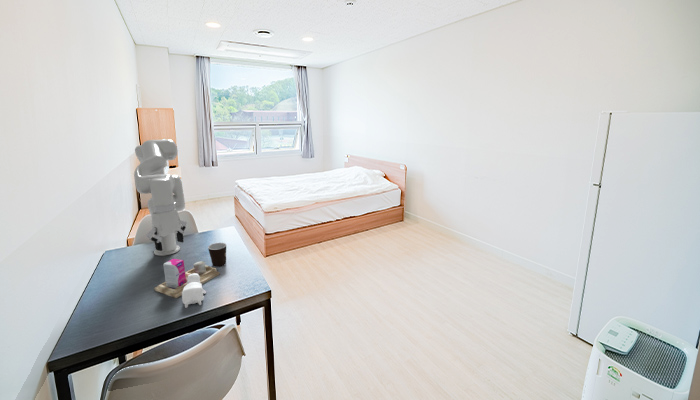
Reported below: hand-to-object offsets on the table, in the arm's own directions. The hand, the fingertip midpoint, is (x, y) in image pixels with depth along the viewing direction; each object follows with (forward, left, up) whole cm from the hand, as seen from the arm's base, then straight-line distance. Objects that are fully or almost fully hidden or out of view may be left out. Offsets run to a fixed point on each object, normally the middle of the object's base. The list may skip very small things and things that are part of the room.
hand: (170, 245), depth 135 cm
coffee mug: (-2, +26, -20) cm, 33 cm away
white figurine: (+14, -2, -20) cm, 25 cm away
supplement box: (0, 0, -19) cm, 19 cm away
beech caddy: (0, +6, -20) cm, 21 cm away
